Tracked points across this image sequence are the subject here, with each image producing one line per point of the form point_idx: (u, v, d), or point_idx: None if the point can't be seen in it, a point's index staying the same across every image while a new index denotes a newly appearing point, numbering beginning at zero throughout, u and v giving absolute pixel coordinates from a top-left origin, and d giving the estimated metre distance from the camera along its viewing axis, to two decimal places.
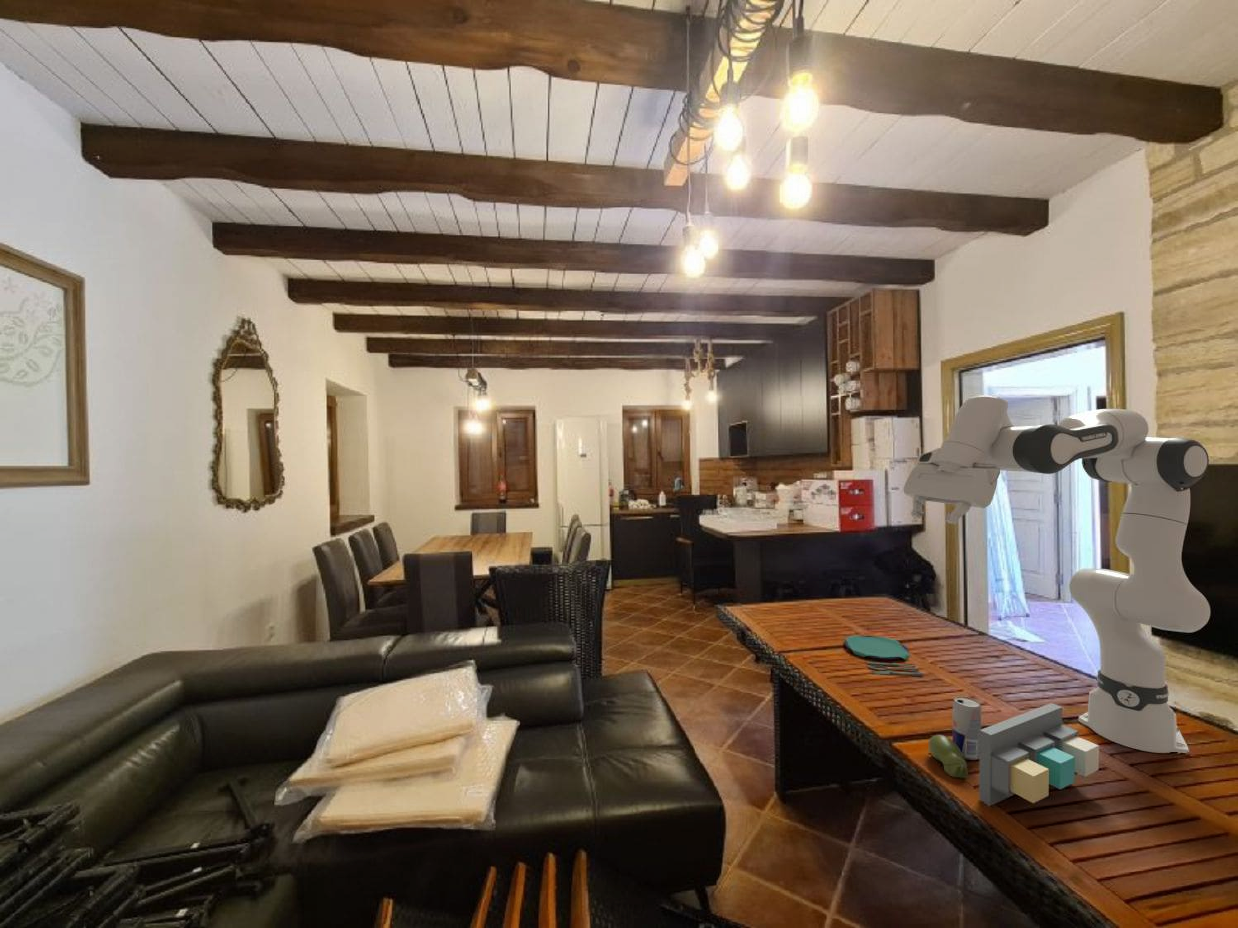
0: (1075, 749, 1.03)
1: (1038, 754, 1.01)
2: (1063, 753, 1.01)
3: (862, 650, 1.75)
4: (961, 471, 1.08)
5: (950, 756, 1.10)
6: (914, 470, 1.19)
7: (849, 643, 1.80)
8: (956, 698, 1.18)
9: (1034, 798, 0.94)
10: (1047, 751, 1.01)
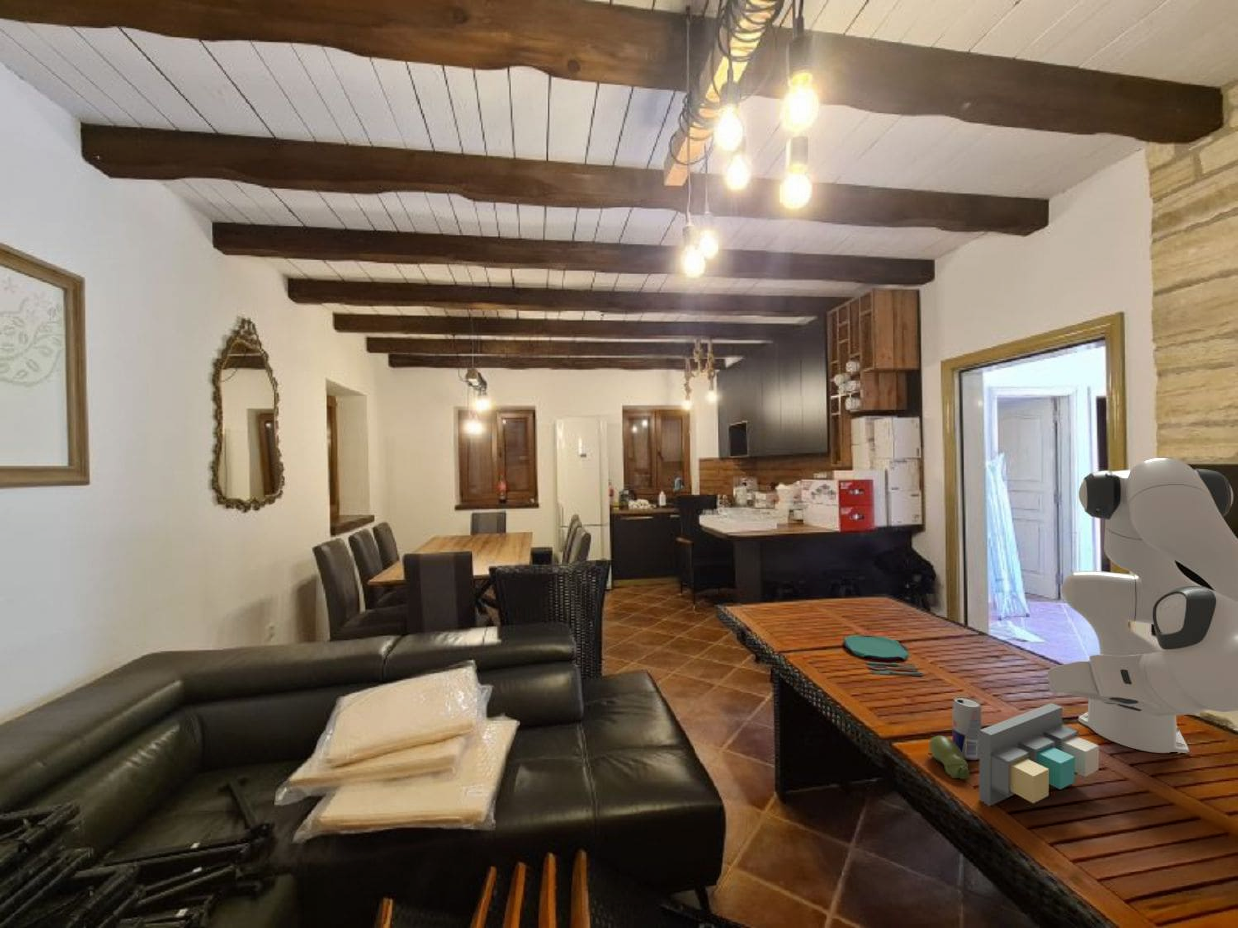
0: (1075, 749, 1.03)
1: (1038, 754, 1.01)
2: (1063, 753, 1.01)
3: (861, 650, 1.75)
4: None
5: (951, 757, 1.09)
6: (1088, 693, 0.83)
7: (848, 643, 1.80)
8: (956, 698, 1.18)
9: (1034, 798, 0.94)
10: (1047, 751, 1.01)
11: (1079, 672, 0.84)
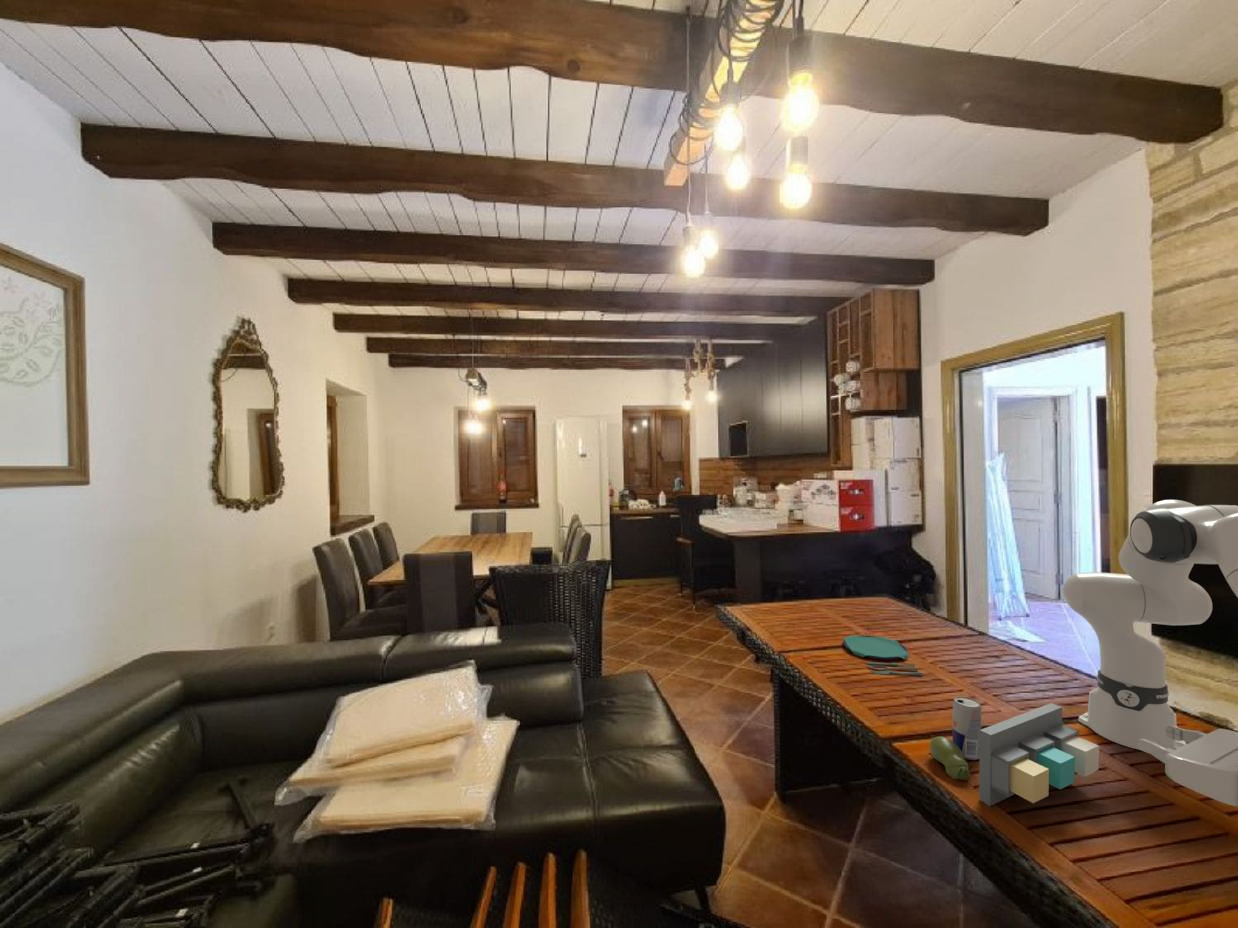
0: (1075, 749, 1.03)
1: (1038, 754, 1.01)
2: (1063, 753, 1.01)
3: (861, 650, 1.75)
4: None
5: (952, 758, 1.09)
6: None
7: (848, 643, 1.80)
8: (956, 698, 1.18)
9: (1034, 798, 0.94)
10: (1047, 751, 1.01)
11: (1223, 783, 0.74)
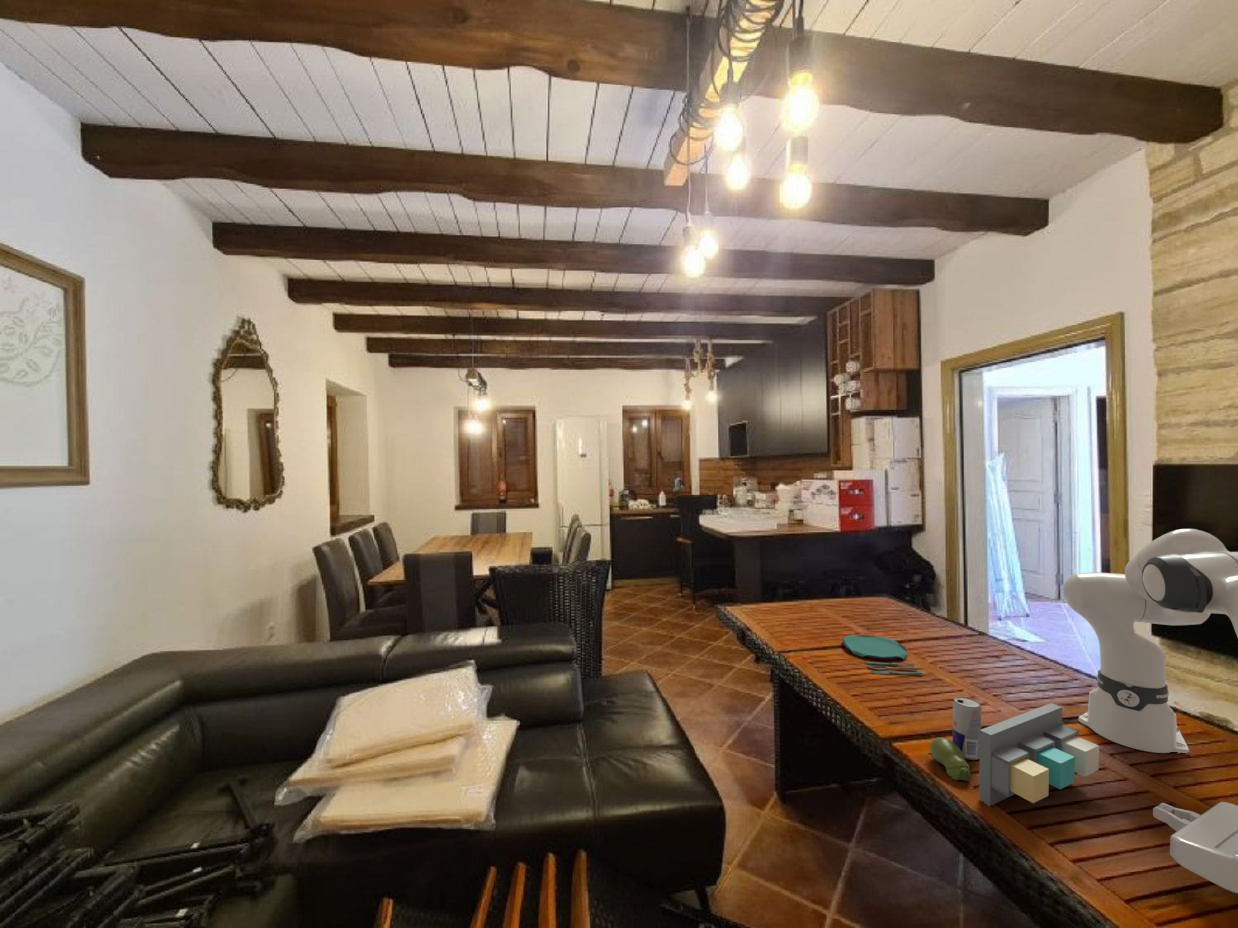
0: (1075, 749, 1.03)
1: (1038, 754, 1.01)
2: (1063, 753, 1.01)
3: (860, 650, 1.75)
4: None
5: (953, 759, 1.09)
6: None
7: (847, 643, 1.80)
8: (956, 698, 1.18)
9: (1034, 798, 0.94)
10: (1047, 751, 1.01)
11: (1229, 871, 0.73)
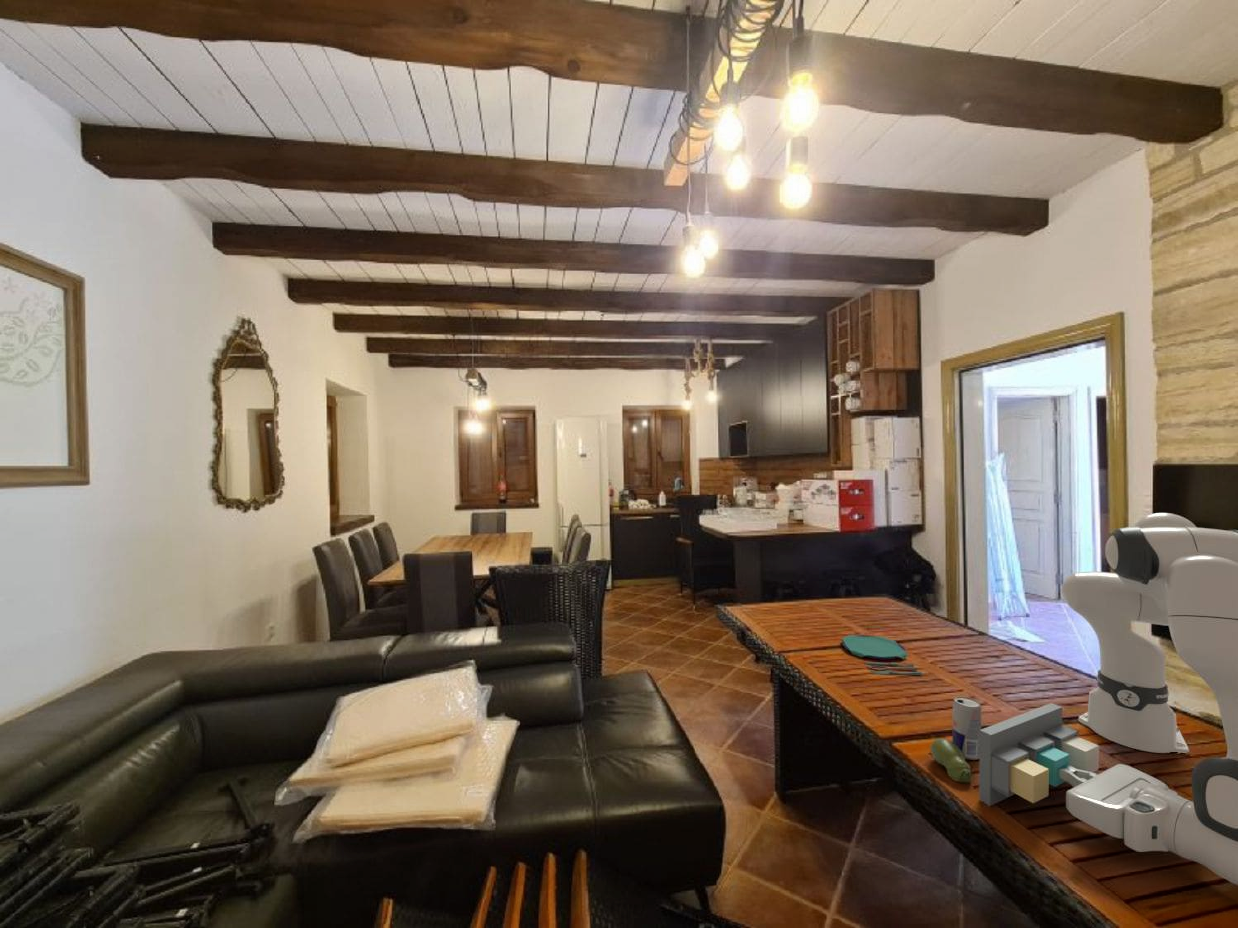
0: (1075, 749, 1.03)
1: None
2: (1058, 751, 1.01)
3: (860, 650, 1.75)
4: None
5: (954, 760, 1.08)
6: None
7: (846, 643, 1.81)
8: (956, 698, 1.18)
9: (1034, 798, 0.94)
10: None
11: (1109, 819, 0.86)
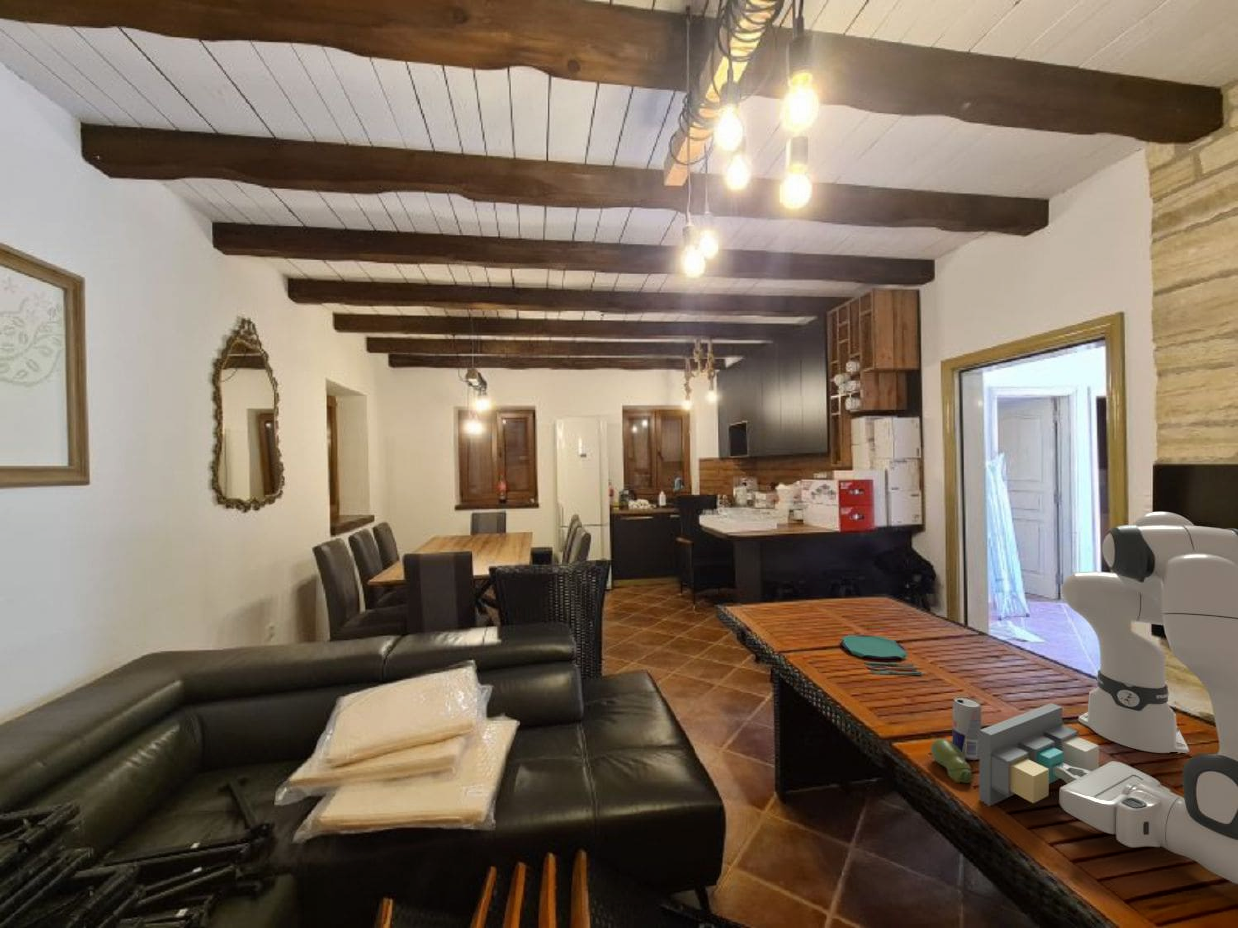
0: (1075, 749, 1.03)
1: None
2: (1052, 748, 1.02)
3: (859, 650, 1.75)
4: None
5: (954, 761, 1.08)
6: None
7: (846, 643, 1.81)
8: (956, 698, 1.18)
9: (1034, 798, 0.94)
10: None
11: (1102, 814, 0.87)
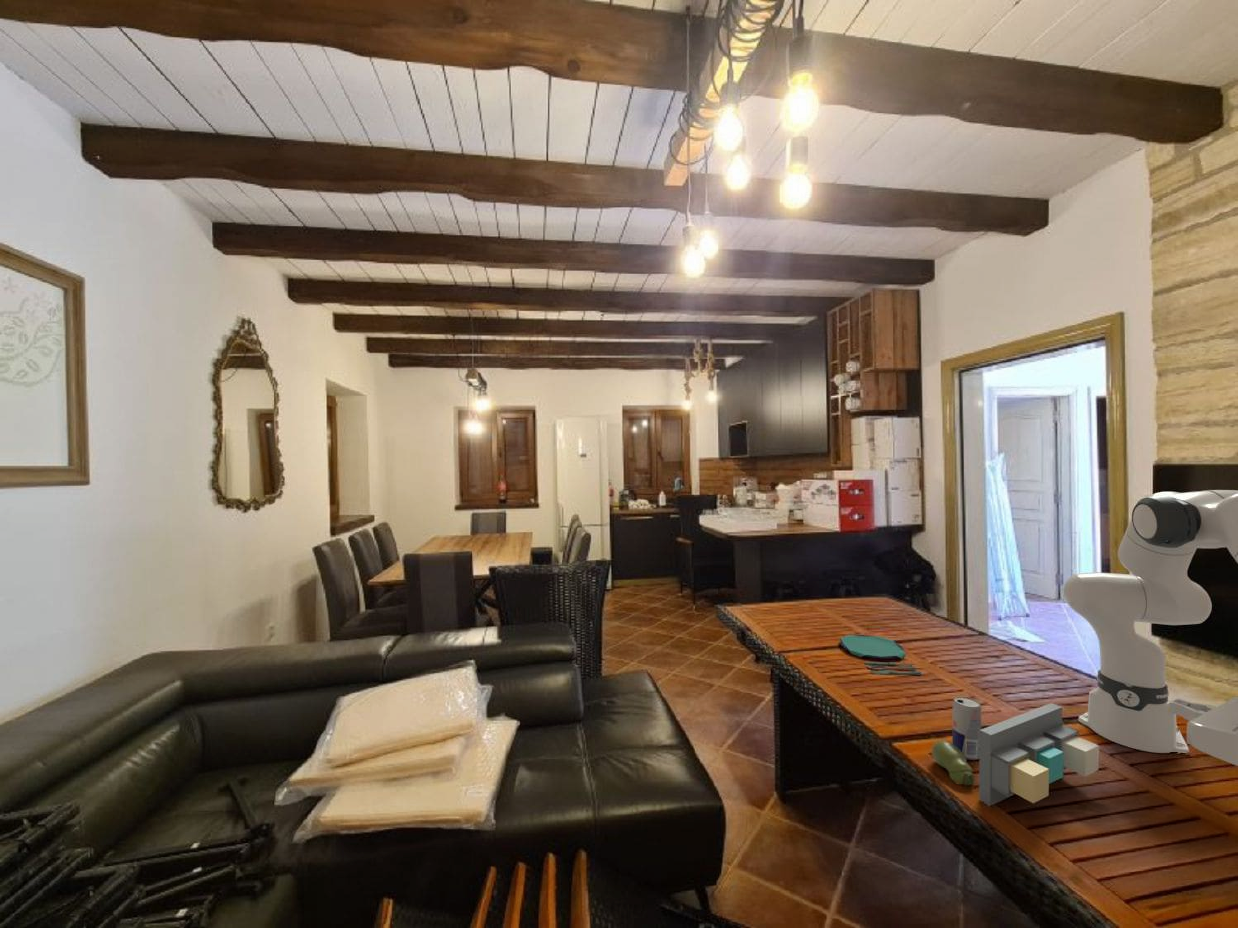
0: (1075, 749, 1.03)
1: None
2: (1052, 748, 1.02)
3: (858, 650, 1.75)
4: None
5: (956, 763, 1.07)
6: None
7: (845, 643, 1.81)
8: (956, 698, 1.18)
9: (1034, 798, 0.94)
10: None
11: None
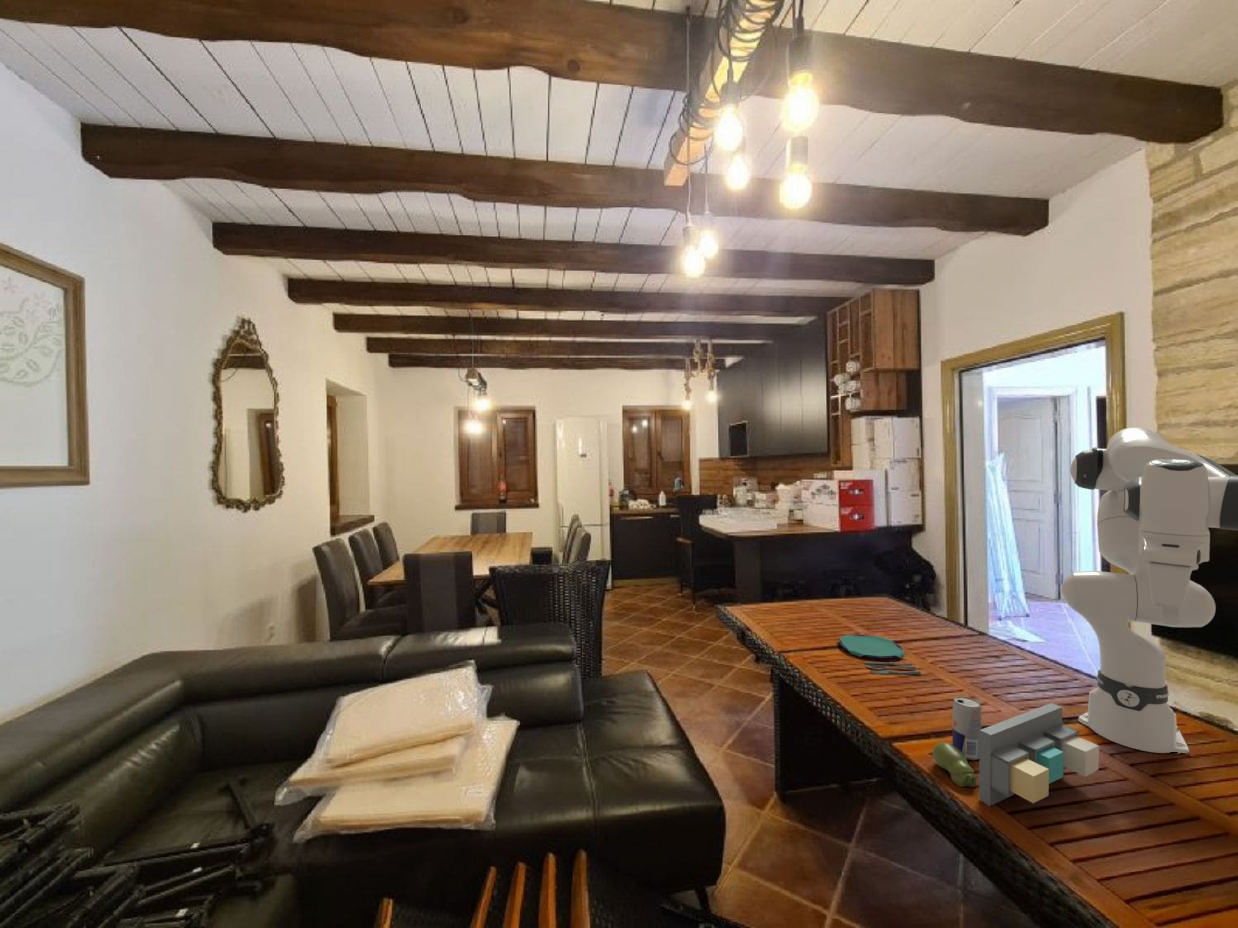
0: (1075, 749, 1.03)
1: None
2: (1052, 748, 1.02)
3: (858, 650, 1.75)
4: None
5: (958, 765, 1.07)
6: None
7: (844, 643, 1.81)
8: (956, 698, 1.18)
9: (1034, 798, 0.94)
10: None
11: (1163, 572, 0.89)
